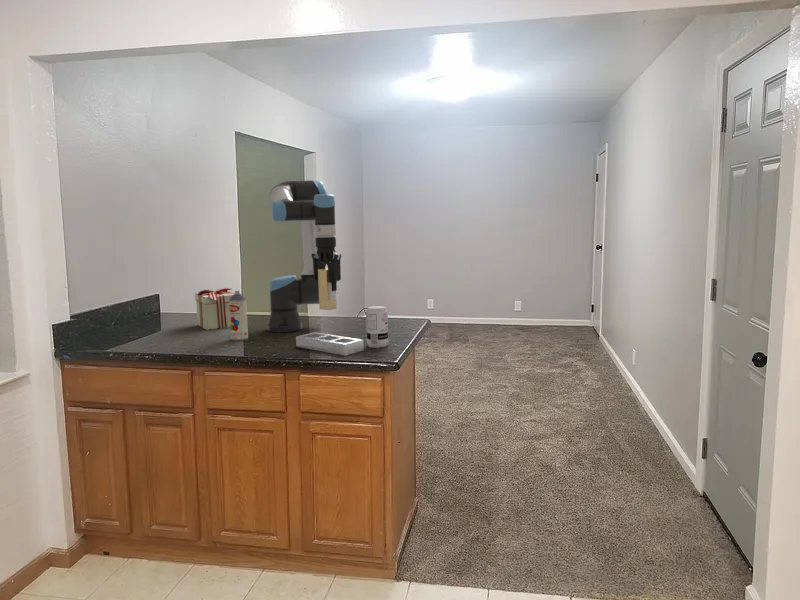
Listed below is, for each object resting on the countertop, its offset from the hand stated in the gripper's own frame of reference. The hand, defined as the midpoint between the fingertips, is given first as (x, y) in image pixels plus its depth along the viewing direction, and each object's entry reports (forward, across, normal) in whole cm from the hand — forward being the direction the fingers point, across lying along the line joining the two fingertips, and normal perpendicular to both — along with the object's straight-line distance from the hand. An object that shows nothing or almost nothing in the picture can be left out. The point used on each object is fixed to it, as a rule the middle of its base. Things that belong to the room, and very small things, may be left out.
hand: (327, 299), depth 235 cm
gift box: (+19, -75, +4) cm, 78 cm away
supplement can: (+19, +12, +14) cm, 27 cm away
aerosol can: (+19, -43, -9) cm, 48 cm away
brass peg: (+4, 0, 0) cm, 4 cm away
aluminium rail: (+19, 0, 0) cm, 19 cm away
